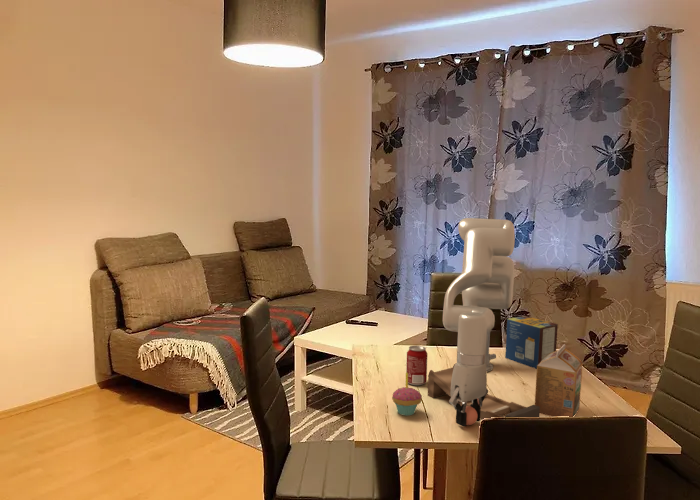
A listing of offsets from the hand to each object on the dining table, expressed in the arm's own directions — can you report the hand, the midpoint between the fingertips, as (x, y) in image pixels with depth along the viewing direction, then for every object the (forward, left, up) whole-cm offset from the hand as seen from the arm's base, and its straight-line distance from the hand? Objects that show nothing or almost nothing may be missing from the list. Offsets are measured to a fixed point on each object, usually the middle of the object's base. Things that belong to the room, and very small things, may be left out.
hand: (467, 421), depth 156 cm
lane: (-12, -6, -1) cm, 13 cm away
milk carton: (-30, +8, -1) cm, 31 cm away
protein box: (-63, -25, -1) cm, 68 cm away
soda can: (-11, -32, -1) cm, 34 cm away
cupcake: (+8, -16, -1) cm, 18 cm away
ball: (0, 0, -1) cm, 1 cm away
